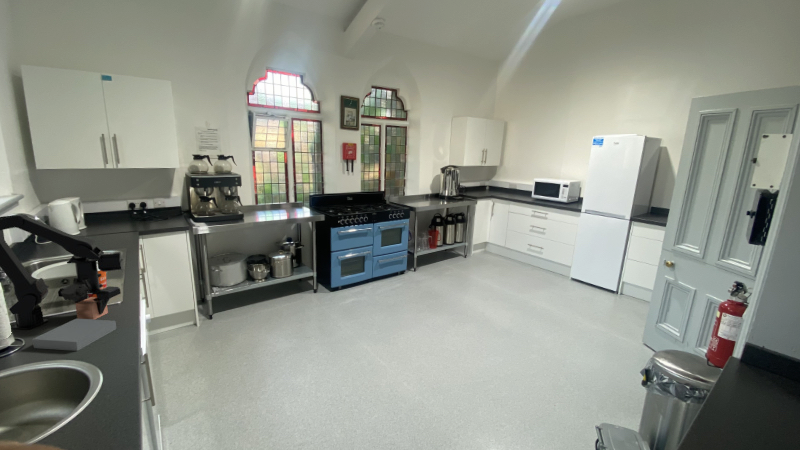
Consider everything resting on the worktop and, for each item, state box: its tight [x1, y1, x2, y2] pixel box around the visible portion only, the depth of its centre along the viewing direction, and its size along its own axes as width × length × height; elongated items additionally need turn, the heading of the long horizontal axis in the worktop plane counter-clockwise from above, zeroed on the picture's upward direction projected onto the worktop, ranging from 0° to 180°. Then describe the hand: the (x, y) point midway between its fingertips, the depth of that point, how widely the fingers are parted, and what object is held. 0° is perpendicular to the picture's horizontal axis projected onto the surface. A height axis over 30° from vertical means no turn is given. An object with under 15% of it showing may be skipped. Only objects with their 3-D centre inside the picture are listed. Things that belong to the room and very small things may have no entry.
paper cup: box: [88, 263, 108, 298], centre depth 142 cm, size 8×8×14 cm
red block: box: [75, 297, 109, 320], centre depth 127 cm, size 6×6×6 cm
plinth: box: [32, 317, 117, 352], centre depth 113 cm, size 14×14×3 cm
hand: (92, 313), depth 128 cm, fingers closed on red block, 6 cm apart
